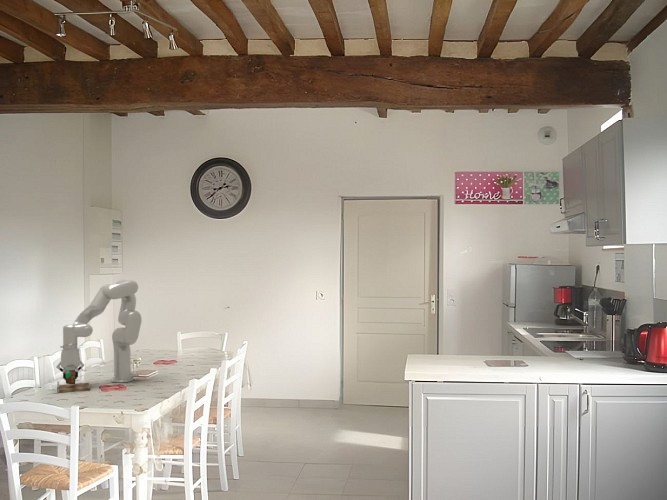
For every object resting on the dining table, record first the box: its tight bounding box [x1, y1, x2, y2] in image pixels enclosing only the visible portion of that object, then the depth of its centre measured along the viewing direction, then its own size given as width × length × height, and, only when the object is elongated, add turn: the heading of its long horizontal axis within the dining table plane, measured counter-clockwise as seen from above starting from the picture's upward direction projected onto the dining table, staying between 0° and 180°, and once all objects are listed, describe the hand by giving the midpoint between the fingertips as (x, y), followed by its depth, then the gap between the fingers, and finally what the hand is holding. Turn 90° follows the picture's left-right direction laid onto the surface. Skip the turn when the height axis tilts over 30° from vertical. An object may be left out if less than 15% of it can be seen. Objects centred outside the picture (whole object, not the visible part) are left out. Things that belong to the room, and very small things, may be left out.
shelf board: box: [56, 381, 91, 394], centre depth 393 cm, size 17×16×4 cm
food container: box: [64, 366, 77, 384], centre depth 392 cm, size 12×6×10 cm, turn 19°
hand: (70, 378), depth 393 cm, fingers closed on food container, 5 cm apart
